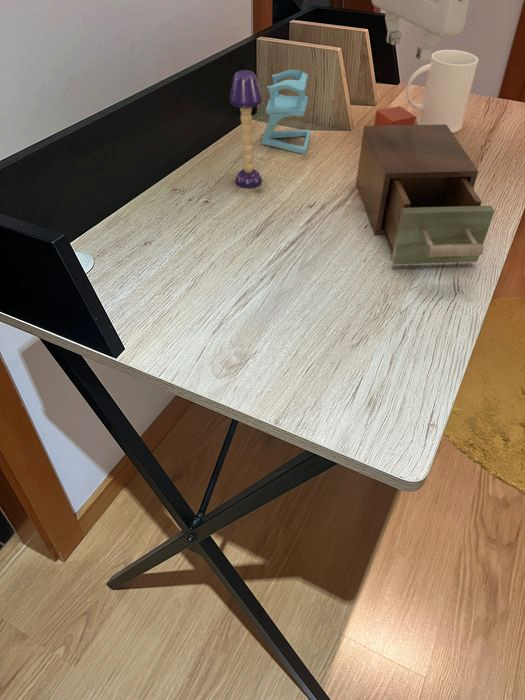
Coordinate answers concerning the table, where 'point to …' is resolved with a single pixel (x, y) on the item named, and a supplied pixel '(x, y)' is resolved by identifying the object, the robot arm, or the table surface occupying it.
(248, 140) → the toy lamp
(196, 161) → the table surface
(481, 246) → the drawer
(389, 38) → the robot arm
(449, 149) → the cabinet
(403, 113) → the block
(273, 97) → the chair
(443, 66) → the mug
